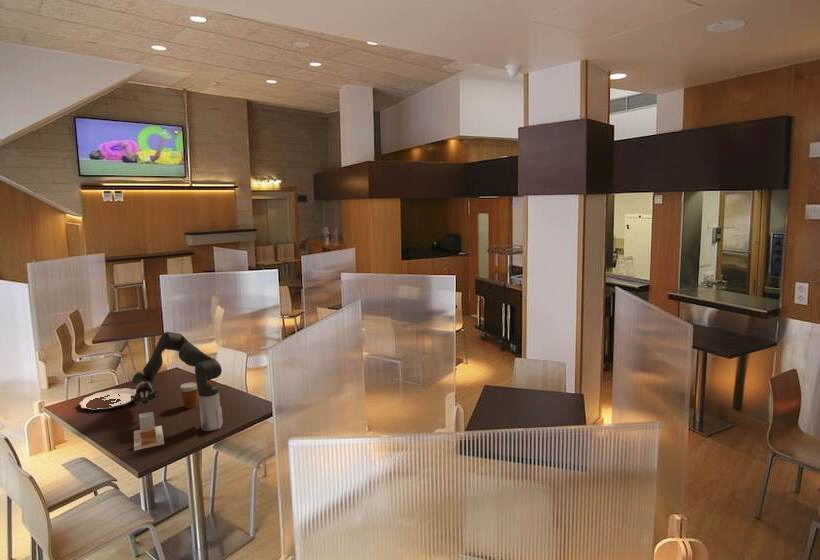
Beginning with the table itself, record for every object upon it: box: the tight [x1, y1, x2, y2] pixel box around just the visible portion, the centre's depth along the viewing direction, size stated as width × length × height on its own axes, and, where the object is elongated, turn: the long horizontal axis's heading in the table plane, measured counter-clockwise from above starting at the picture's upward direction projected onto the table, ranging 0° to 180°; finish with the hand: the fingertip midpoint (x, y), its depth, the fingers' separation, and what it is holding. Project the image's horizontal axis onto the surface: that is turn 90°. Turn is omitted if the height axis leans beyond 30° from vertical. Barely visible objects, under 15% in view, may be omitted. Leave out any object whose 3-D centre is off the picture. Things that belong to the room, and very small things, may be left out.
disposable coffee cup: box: [179, 381, 199, 409], centre depth 275 cm, size 10×10×12 cm
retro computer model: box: [138, 411, 156, 431], centre depth 241 cm, size 6×6×9 cm
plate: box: [78, 387, 136, 411], centre depth 285 cm, size 29×29×2 cm
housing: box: [133, 425, 165, 451], centre depth 237 cm, size 22×12×2 cm, turn 28°
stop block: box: [140, 428, 156, 445], centre depth 231 cm, size 2×6×6 cm, turn 118°
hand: (144, 402), depth 253 cm, fingers closed
